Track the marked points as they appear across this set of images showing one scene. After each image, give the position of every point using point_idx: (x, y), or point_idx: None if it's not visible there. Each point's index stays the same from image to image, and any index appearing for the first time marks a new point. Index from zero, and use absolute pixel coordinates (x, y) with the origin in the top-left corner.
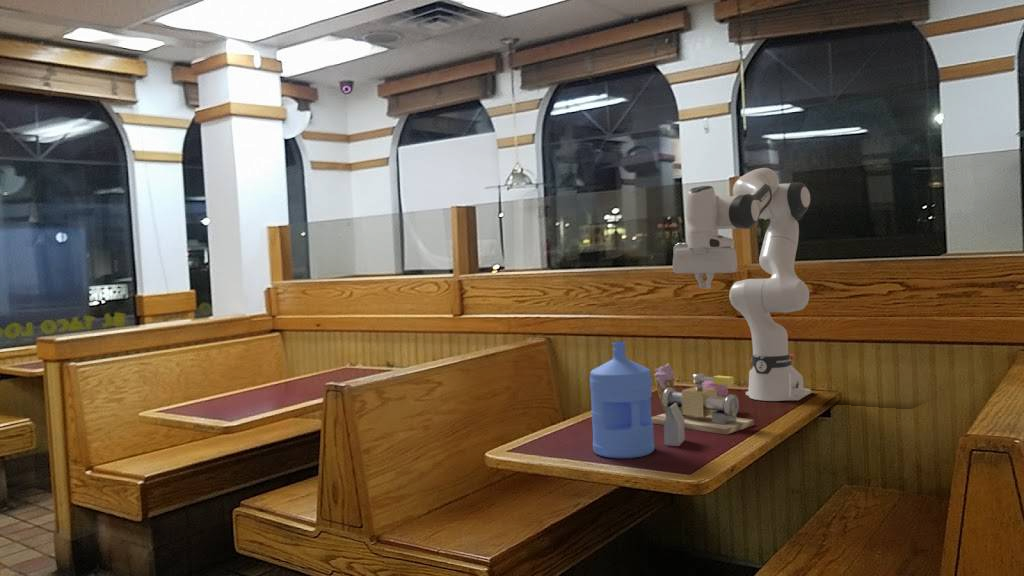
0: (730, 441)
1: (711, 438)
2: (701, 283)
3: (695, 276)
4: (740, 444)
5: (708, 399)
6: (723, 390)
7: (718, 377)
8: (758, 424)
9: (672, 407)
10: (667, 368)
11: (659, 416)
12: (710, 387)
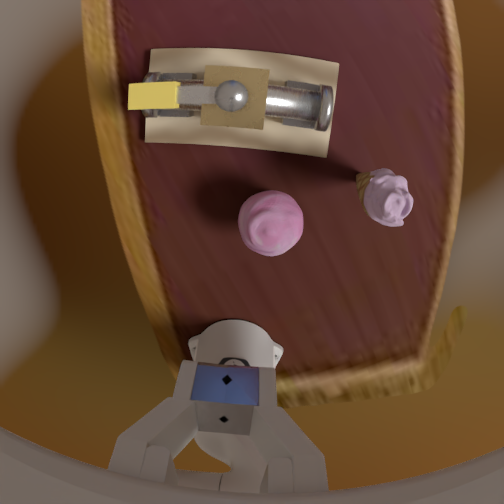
0: (128, 19)
1: (164, 15)
2: (245, 399)
3: (321, 461)
4: (107, 15)
5: (202, 82)
6: (239, 215)
7: (157, 82)
8: (144, 150)
9: None
10: (381, 198)
11: (326, 81)
12: (263, 201)
